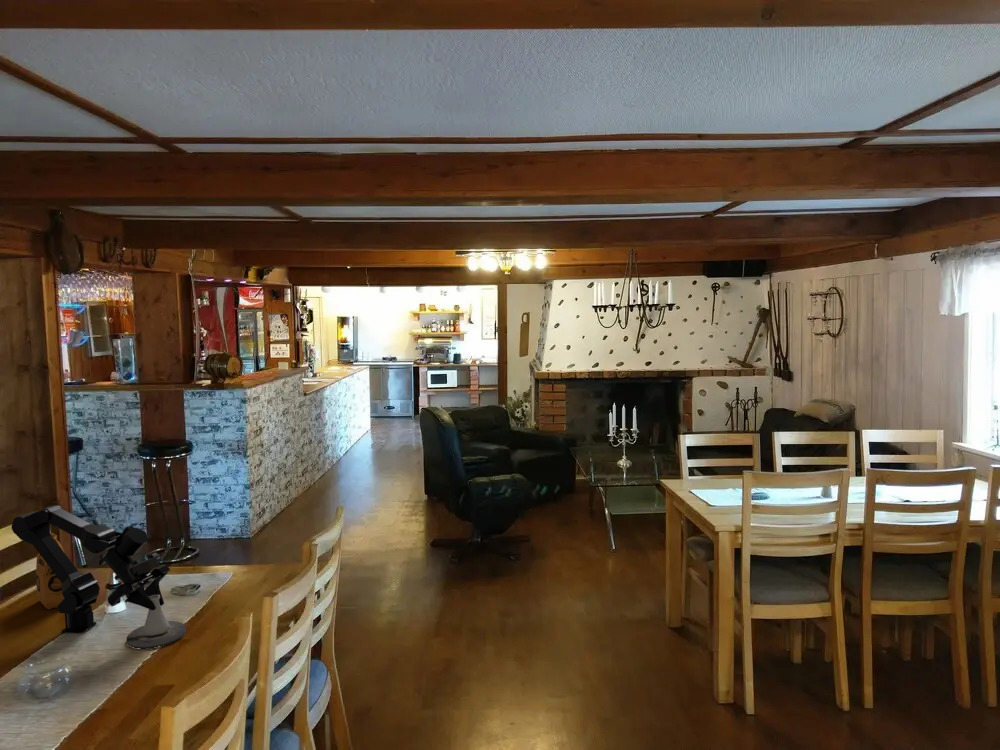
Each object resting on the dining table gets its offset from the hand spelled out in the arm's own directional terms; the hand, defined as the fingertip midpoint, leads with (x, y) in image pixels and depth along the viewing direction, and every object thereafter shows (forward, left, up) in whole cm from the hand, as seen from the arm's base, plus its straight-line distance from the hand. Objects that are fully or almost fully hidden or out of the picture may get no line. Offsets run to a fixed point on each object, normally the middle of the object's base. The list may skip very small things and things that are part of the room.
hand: (158, 607), depth 193 cm
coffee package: (-48, +20, -9) cm, 53 cm away
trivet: (-1, 0, -9) cm, 9 cm away
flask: (-1, 0, -7) cm, 7 cm away
